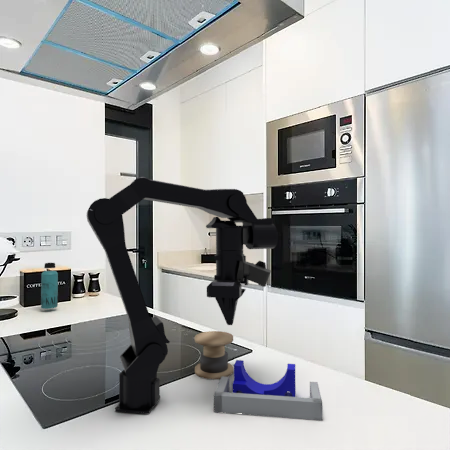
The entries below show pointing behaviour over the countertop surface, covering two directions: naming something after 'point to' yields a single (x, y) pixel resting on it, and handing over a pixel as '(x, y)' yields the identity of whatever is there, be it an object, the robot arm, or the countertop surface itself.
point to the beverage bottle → (49, 288)
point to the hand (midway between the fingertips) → (230, 324)
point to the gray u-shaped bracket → (268, 403)
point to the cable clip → (250, 386)
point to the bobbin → (214, 355)
